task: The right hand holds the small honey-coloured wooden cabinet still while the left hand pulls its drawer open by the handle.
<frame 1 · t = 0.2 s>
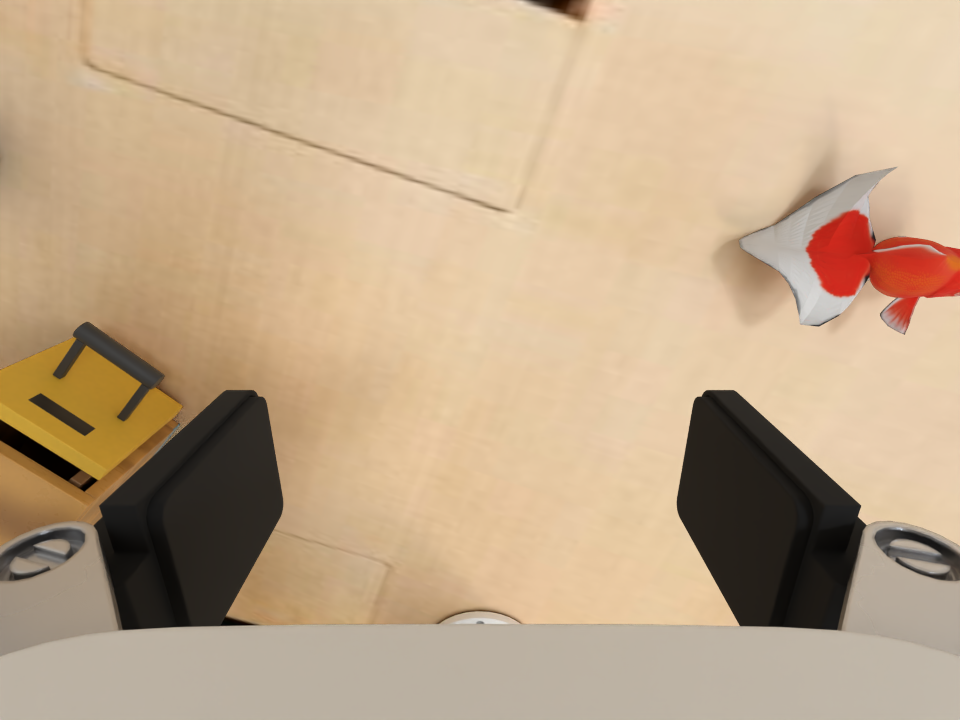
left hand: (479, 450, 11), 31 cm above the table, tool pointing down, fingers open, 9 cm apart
cabinet: (70, 462, 48), on the table
drawer: (48, 457, 41), point 6 cm above the table, slide at 1.4 cm
fish: (821, 253, 41), on the table
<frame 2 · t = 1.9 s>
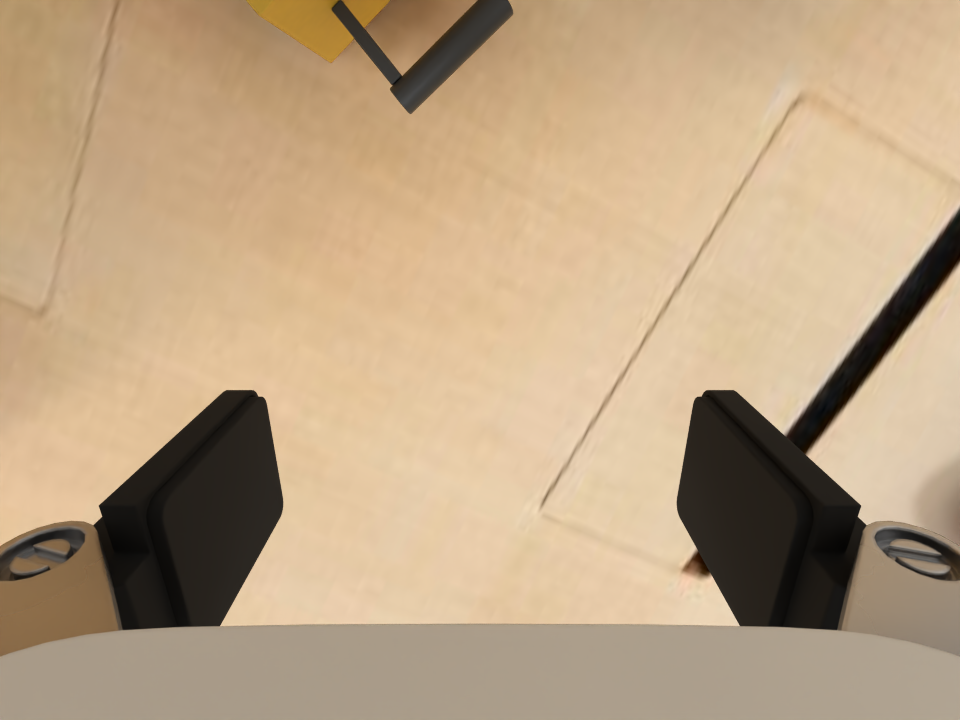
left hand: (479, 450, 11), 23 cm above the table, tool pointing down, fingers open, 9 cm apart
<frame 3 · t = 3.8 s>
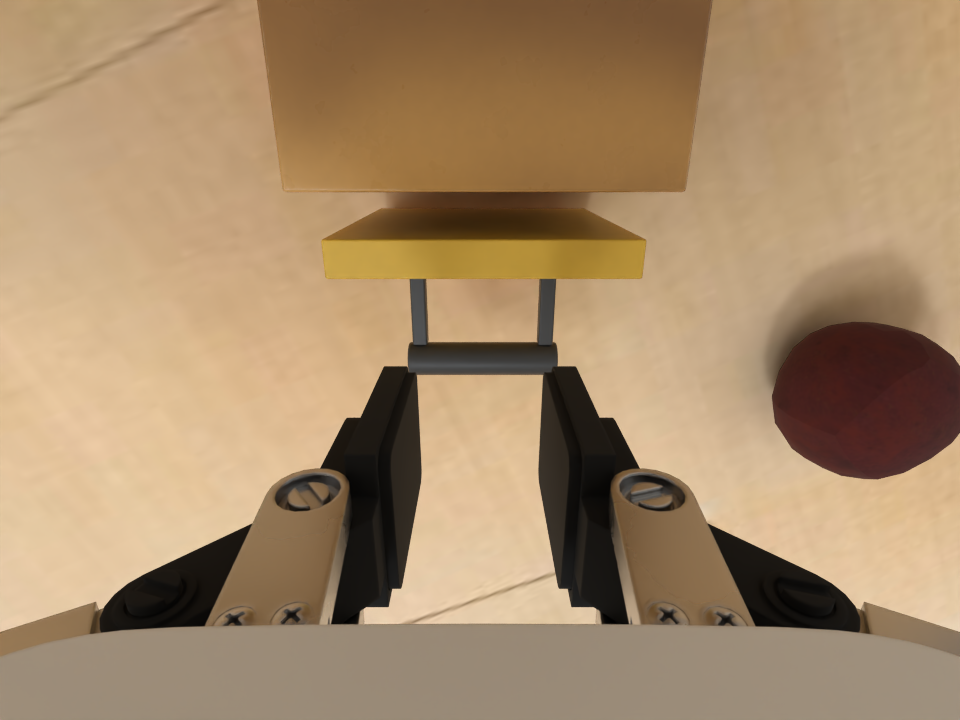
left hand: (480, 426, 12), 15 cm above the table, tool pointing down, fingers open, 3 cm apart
drawer: (483, 38, 17), point 6 cm above the table, slide at 1.4 cm
potato: (813, 369, 28), on the table
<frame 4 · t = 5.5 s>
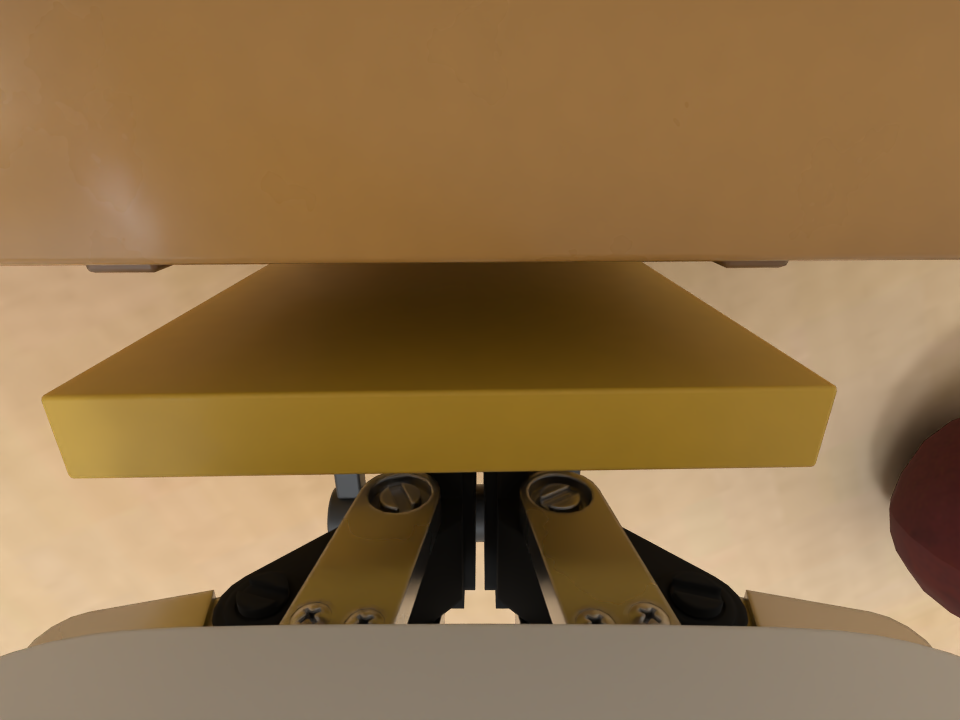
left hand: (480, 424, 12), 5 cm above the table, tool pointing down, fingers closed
potato: (939, 462, 20), on the table
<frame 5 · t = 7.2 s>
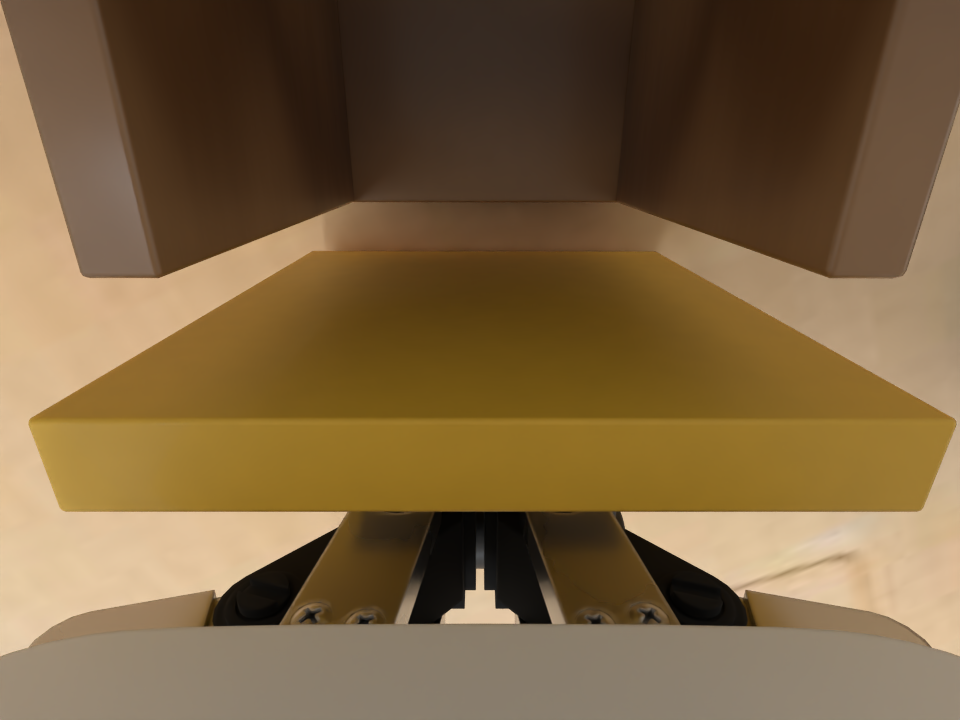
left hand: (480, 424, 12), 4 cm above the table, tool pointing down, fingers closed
when the right hand's fingers open (7 cm above the table, at t = 9.1 s): cabinet stays where it is, on the table.
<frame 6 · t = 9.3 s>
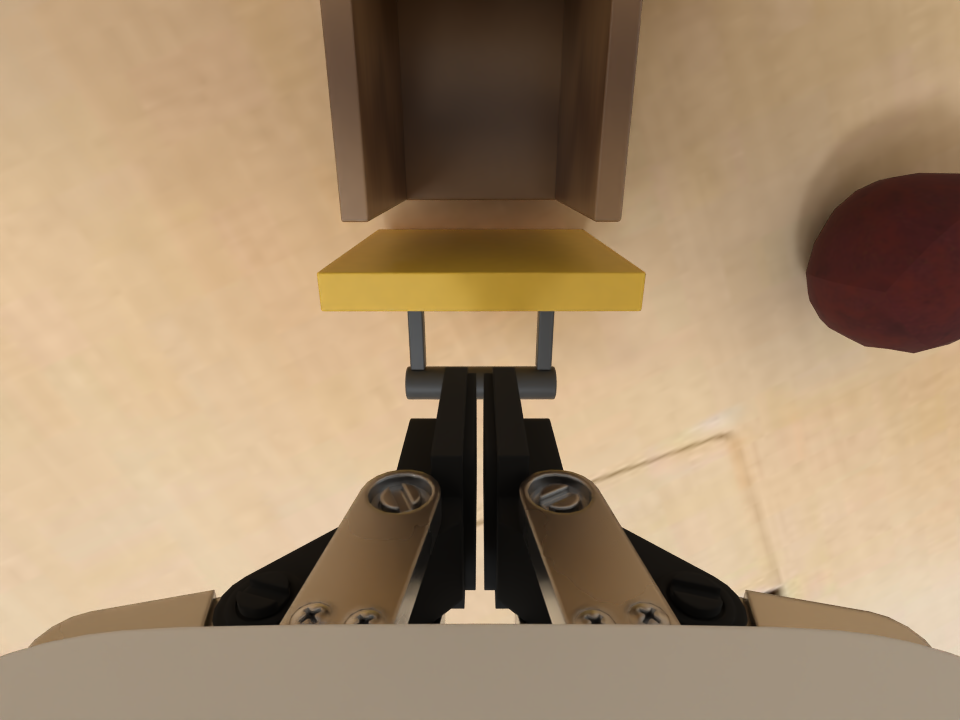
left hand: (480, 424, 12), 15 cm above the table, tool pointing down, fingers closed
drawer: (481, 65, 17), point 6 cm above the table, slide at 9.0 cm
potato: (850, 248, 25), on the table
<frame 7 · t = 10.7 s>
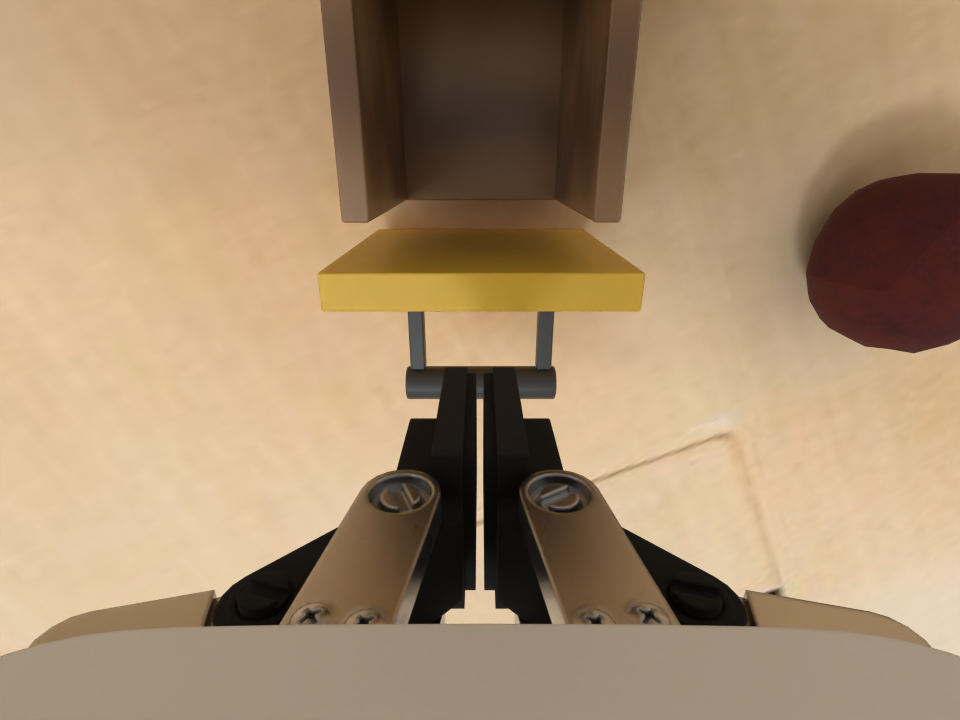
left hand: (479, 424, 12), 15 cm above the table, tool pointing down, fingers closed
drawer: (481, 65, 17), point 6 cm above the table, slide at 9.0 cm
potato: (850, 248, 25), on the table
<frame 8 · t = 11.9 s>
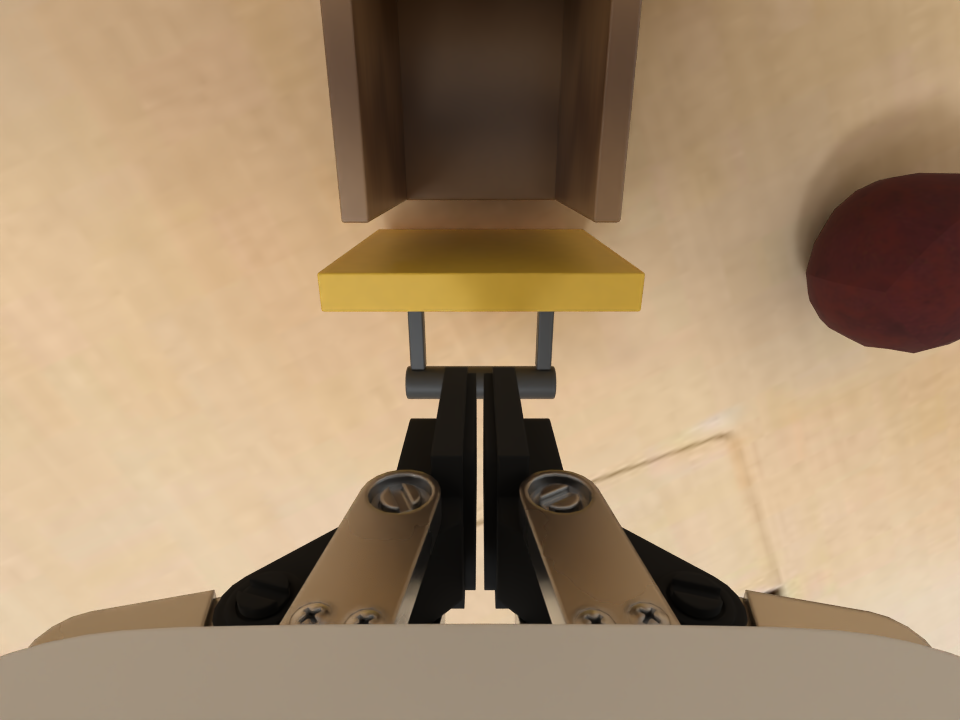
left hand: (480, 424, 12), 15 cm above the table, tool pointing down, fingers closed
drawer: (480, 65, 17), point 6 cm above the table, slide at 9.0 cm
potato: (850, 248, 25), on the table
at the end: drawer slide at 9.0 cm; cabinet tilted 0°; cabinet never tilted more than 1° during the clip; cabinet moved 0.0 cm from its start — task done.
